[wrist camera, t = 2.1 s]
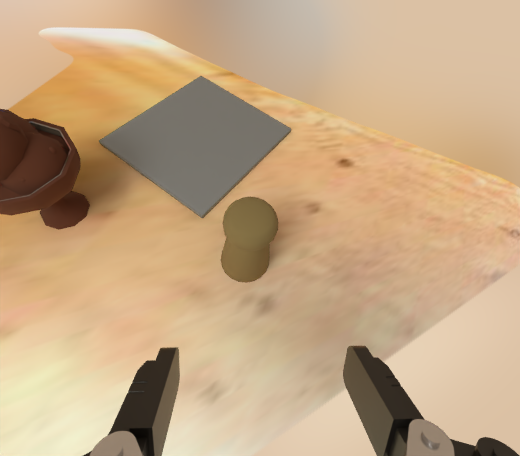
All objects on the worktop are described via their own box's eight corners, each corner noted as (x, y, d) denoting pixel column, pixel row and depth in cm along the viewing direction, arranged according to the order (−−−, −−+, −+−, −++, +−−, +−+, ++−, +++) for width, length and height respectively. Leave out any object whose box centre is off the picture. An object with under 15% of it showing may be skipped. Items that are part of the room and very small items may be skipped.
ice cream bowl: (130, 202, 35) (69, 103, 22) (54, 267, 30) (-84, 189, 17) (75, 163, 37) (-11, 50, 24) (-5, 217, 32) (-169, 113, 19)
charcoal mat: (202, 218, 35) (202, 215, 34) (100, 143, 39) (98, 140, 38) (290, 131, 44) (291, 128, 44) (201, 79, 48) (201, 75, 48)
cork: (214, 245, 33) (209, 195, 24) (258, 231, 35) (270, 180, 25) (229, 289, 31) (230, 254, 21) (276, 272, 32) (296, 233, 23)
